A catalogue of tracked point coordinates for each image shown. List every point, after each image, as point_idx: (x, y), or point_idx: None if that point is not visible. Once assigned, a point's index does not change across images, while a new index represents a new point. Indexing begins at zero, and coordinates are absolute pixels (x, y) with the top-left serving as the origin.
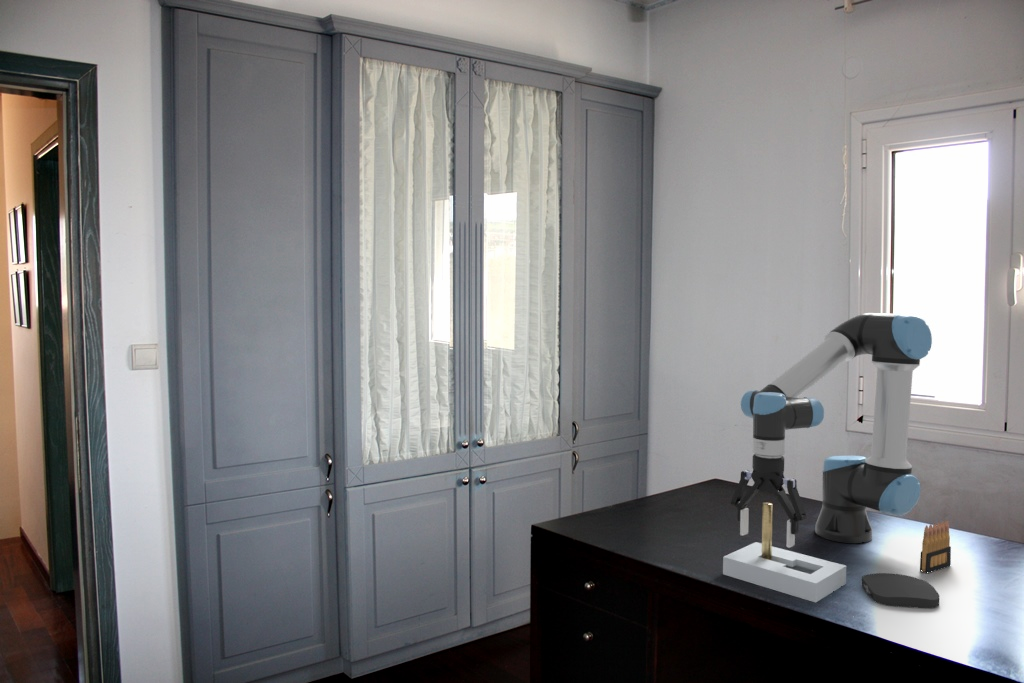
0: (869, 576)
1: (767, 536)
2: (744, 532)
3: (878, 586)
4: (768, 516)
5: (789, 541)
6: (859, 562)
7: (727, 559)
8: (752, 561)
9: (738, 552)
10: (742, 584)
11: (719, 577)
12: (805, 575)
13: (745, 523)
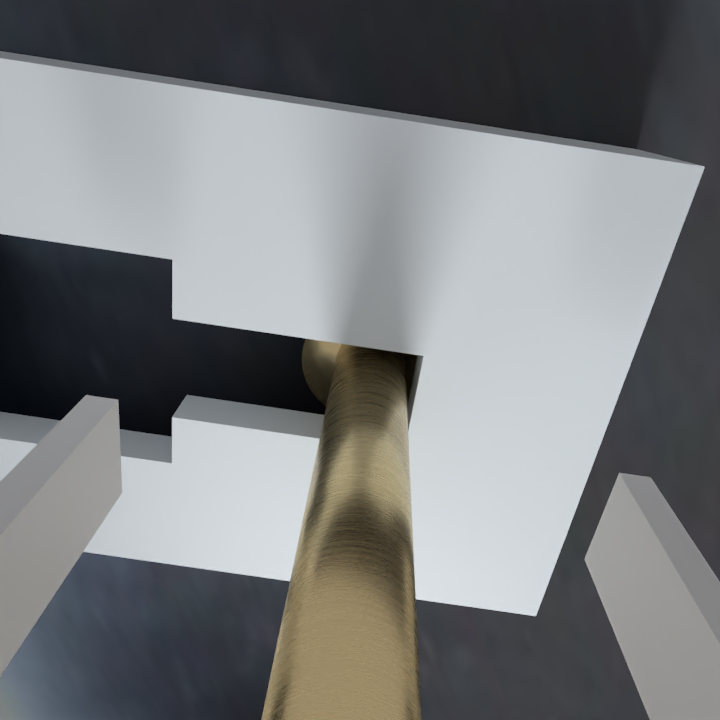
0: None
1: (334, 478)
2: (617, 519)
3: None
4: (291, 705)
5: (51, 431)
6: (79, 715)
7: (651, 159)
8: (422, 215)
9: (596, 356)
10: (442, 35)
11: (647, 63)
12: None
13: (649, 611)
